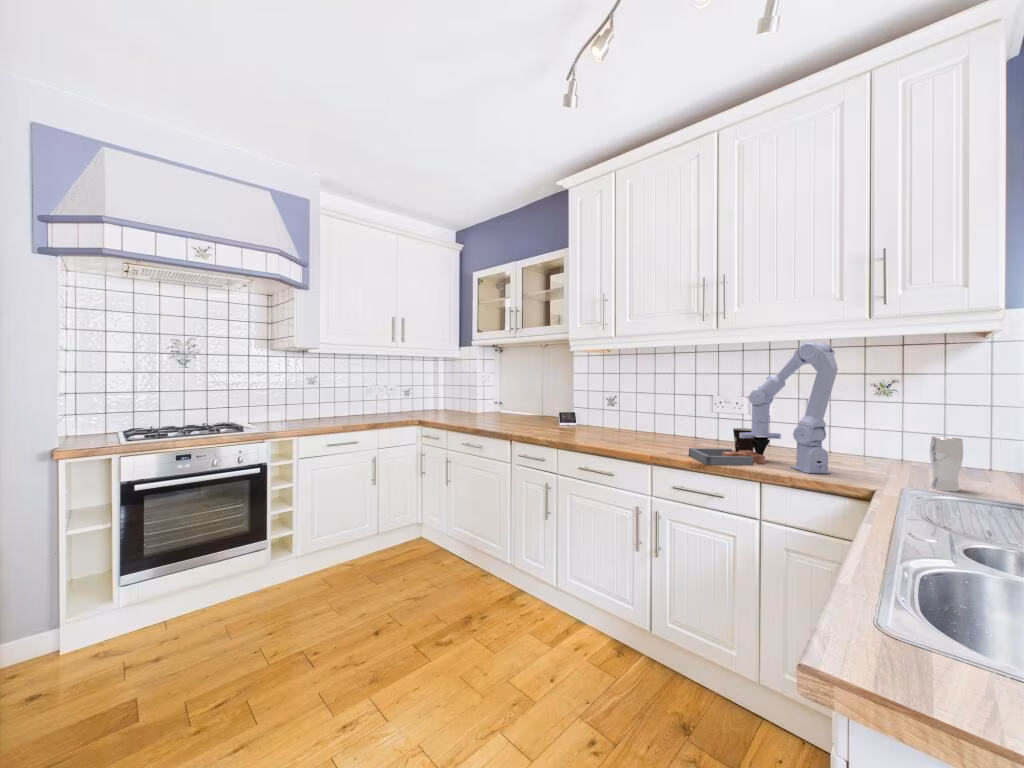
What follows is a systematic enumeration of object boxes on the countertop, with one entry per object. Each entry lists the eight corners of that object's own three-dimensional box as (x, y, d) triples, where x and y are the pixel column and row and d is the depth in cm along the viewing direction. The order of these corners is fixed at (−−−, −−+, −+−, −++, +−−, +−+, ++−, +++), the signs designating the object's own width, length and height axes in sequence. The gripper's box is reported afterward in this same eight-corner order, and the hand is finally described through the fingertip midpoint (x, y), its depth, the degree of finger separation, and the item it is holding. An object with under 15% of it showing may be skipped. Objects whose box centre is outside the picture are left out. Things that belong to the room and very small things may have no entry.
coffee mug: (753, 455, 181) (754, 431, 180) (730, 453, 186) (731, 429, 186) (758, 451, 190) (759, 428, 190) (736, 449, 195) (736, 426, 195)
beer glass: (934, 485, 135) (936, 435, 135) (965, 490, 129) (967, 439, 129) (924, 487, 132) (926, 437, 132) (956, 493, 126) (958, 440, 126)
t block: (748, 457, 176) (749, 450, 176) (764, 464, 164) (765, 456, 164) (717, 457, 176) (718, 449, 176) (731, 463, 164) (731, 455, 164)
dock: (752, 465, 161) (753, 457, 161) (706, 464, 162) (706, 456, 162) (730, 456, 179) (730, 448, 179) (688, 455, 180) (688, 448, 180)
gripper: (773, 420, 173) (773, 455, 174) (735, 420, 174) (735, 454, 174) (784, 422, 166) (783, 459, 167) (744, 422, 167) (743, 458, 167)
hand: (759, 457), depth 170 cm, fingers closed
